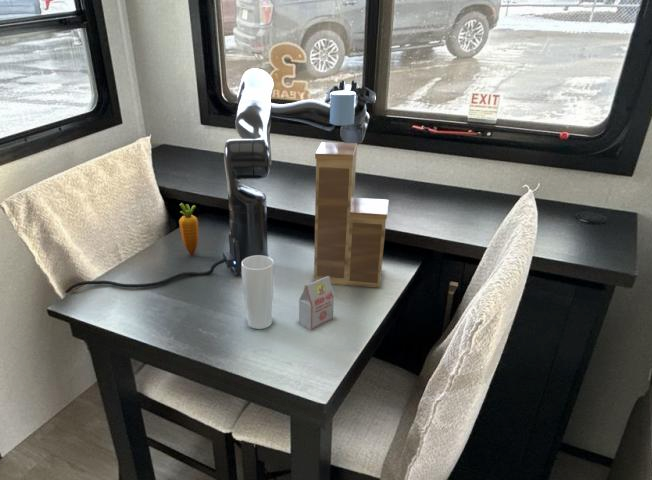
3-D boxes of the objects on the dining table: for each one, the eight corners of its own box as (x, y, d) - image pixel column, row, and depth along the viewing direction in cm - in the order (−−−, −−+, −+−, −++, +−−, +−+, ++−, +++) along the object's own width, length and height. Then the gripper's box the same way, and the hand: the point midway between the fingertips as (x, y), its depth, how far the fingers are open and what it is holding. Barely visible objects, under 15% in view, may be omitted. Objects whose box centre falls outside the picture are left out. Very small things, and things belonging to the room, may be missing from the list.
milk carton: (299, 322, 120) (299, 282, 115) (321, 312, 124) (322, 272, 118) (310, 329, 117) (311, 289, 112) (333, 318, 121) (334, 278, 116)
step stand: (380, 288, 132) (392, 156, 116) (312, 282, 135) (315, 153, 119) (382, 270, 140) (393, 144, 124) (318, 265, 143) (321, 141, 127)
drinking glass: (272, 333, 116) (270, 270, 109) (241, 330, 118) (237, 268, 110) (278, 316, 122) (276, 256, 115) (248, 314, 123) (245, 253, 116)
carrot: (204, 253, 151) (200, 202, 143) (193, 261, 147) (187, 208, 140) (190, 250, 153) (185, 198, 146) (179, 256, 150) (172, 204, 142)
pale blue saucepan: (352, 125, 124) (354, 95, 120) (328, 125, 125) (329, 94, 122) (359, 109, 139) (361, 81, 135) (337, 108, 140) (338, 81, 136)
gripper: (327, 94, 150) (320, 68, 133) (379, 95, 147) (378, 68, 130) (325, 121, 150) (317, 99, 133) (376, 123, 147) (375, 100, 130)
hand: (347, 84), depth 132 cm, fingers closed on pale blue saucepan
